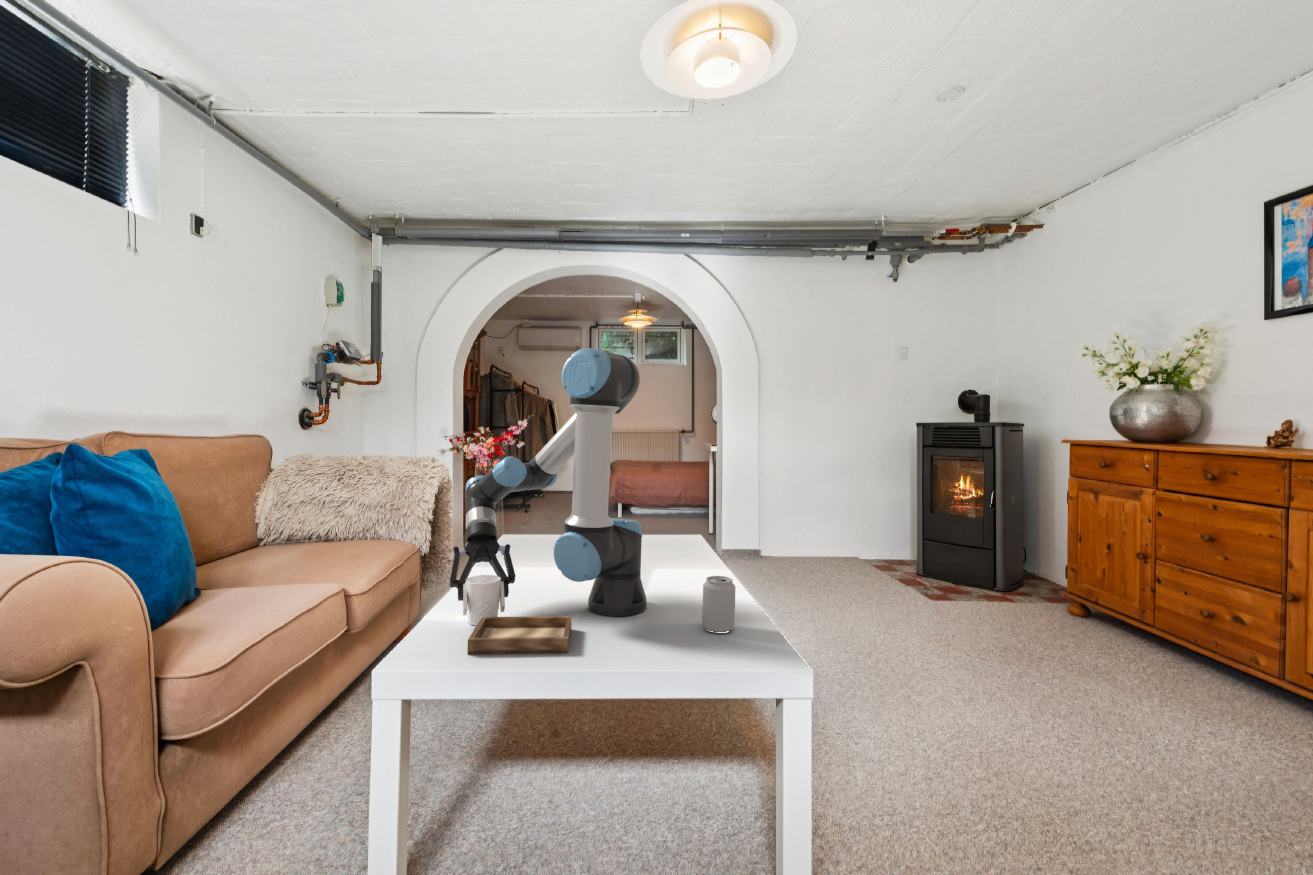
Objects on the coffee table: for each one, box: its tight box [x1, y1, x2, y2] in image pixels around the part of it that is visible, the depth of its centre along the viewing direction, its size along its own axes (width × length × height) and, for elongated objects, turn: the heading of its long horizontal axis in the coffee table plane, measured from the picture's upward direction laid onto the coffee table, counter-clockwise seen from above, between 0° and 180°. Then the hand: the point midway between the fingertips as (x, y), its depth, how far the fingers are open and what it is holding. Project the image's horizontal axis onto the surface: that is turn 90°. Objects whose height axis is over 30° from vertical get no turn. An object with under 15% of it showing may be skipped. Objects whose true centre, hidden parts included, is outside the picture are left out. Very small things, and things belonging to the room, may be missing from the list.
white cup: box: [465, 574, 501, 627], centre depth 135 cm, size 8×8×10 cm
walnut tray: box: [467, 615, 573, 655], centre depth 123 cm, size 20×14×3 cm
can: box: [701, 575, 736, 632], centre depth 133 cm, size 8×8×12 cm
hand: (484, 610), depth 131 cm, fingers closed on white cup, 8 cm apart
